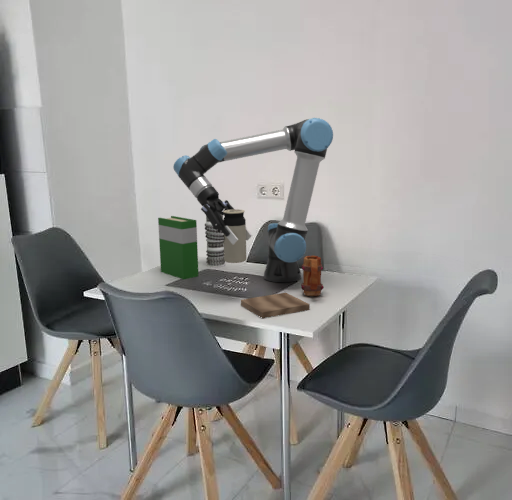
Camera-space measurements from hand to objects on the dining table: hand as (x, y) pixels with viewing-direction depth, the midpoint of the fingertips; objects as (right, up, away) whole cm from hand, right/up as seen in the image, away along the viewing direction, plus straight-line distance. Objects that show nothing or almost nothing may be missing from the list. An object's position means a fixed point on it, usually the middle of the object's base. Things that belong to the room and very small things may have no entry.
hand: (242, 240), depth 189 cm
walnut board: (+11, -23, -5) cm, 26 cm away
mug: (+25, -21, +7) cm, 33 cm away
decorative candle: (-14, -11, +58) cm, 60 cm away
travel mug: (-3, -8, +4) cm, 9 cm away
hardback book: (-28, -14, +43) cm, 53 cm away
